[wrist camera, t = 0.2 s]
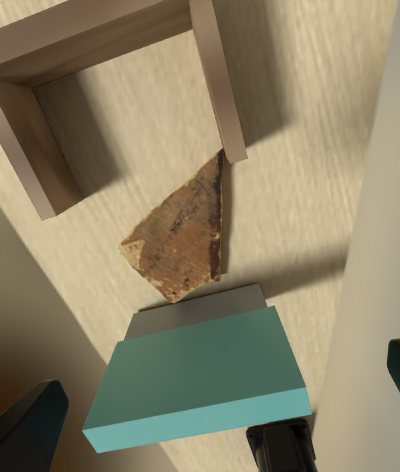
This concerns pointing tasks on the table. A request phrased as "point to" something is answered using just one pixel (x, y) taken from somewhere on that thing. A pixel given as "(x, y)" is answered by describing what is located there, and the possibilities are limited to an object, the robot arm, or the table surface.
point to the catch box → (86, 55)
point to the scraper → (197, 373)
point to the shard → (181, 236)
